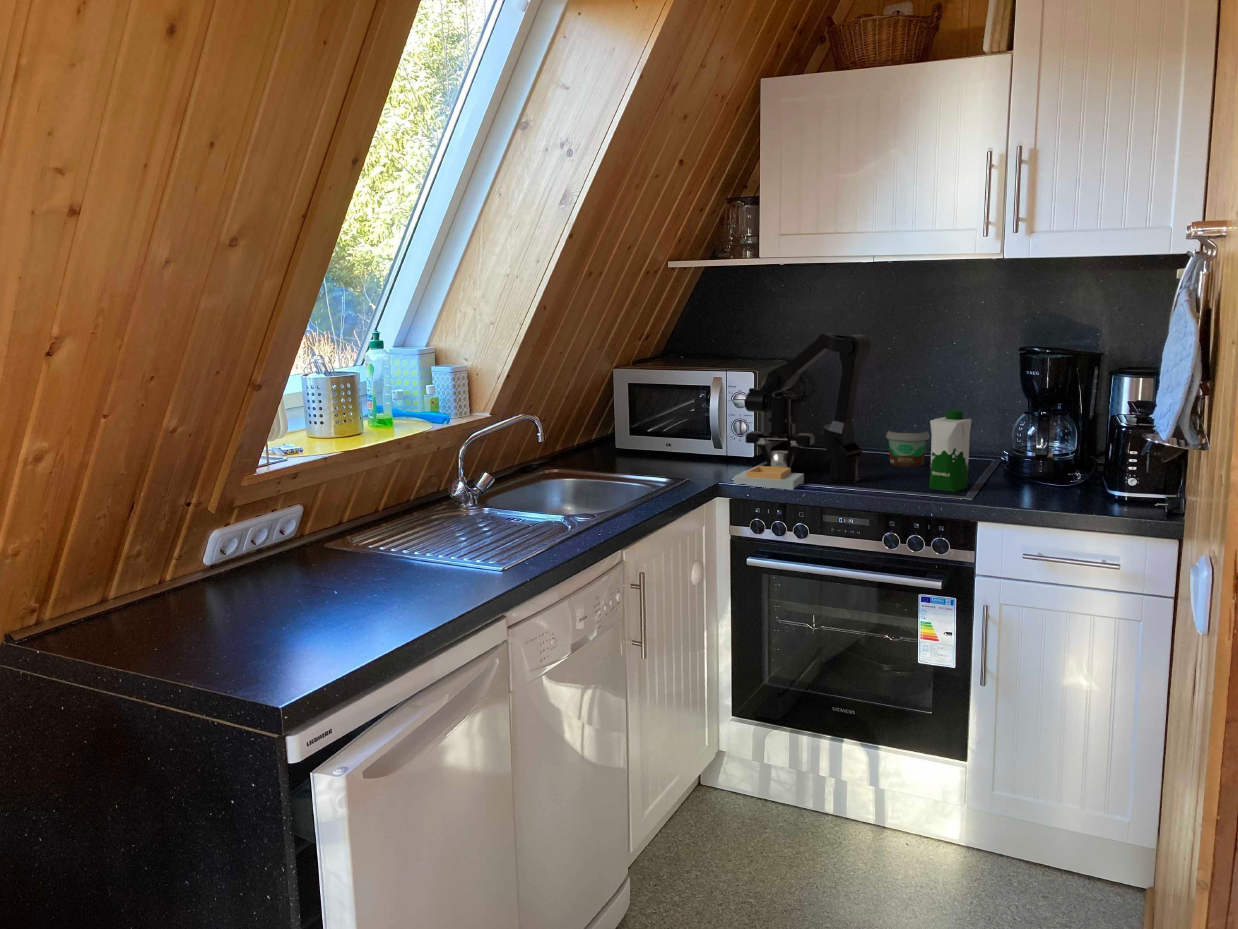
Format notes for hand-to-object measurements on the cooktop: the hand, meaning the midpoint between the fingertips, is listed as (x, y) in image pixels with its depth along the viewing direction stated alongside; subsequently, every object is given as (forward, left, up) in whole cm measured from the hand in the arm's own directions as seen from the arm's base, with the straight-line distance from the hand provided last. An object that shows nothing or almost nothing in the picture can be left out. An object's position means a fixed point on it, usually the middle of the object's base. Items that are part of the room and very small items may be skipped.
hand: (779, 468), depth 286 cm
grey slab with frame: (-2, +17, -1) cm, 17 cm away
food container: (-32, -22, -2) cm, 39 cm away
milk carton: (-47, +7, -2) cm, 48 cm away
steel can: (0, 0, -1) cm, 1 cm away
